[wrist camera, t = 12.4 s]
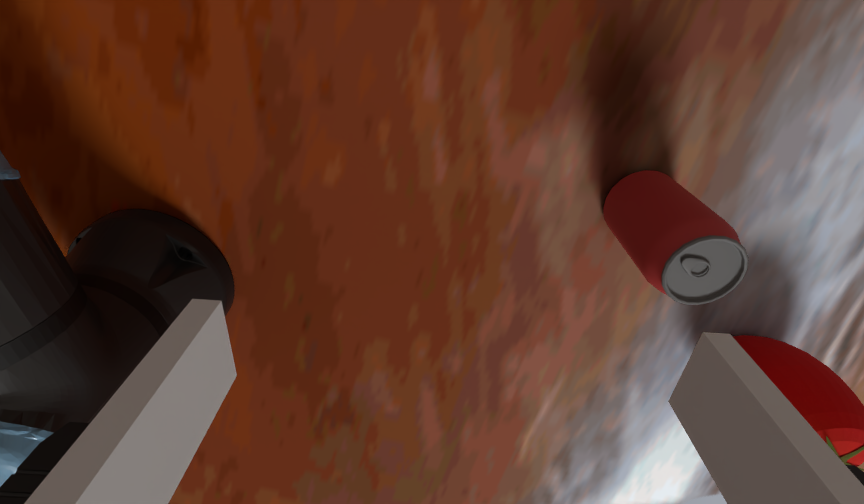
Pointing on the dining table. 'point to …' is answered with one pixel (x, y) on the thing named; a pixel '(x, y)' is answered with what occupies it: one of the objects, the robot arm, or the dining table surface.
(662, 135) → the dining table surface
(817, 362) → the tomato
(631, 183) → the beer can
